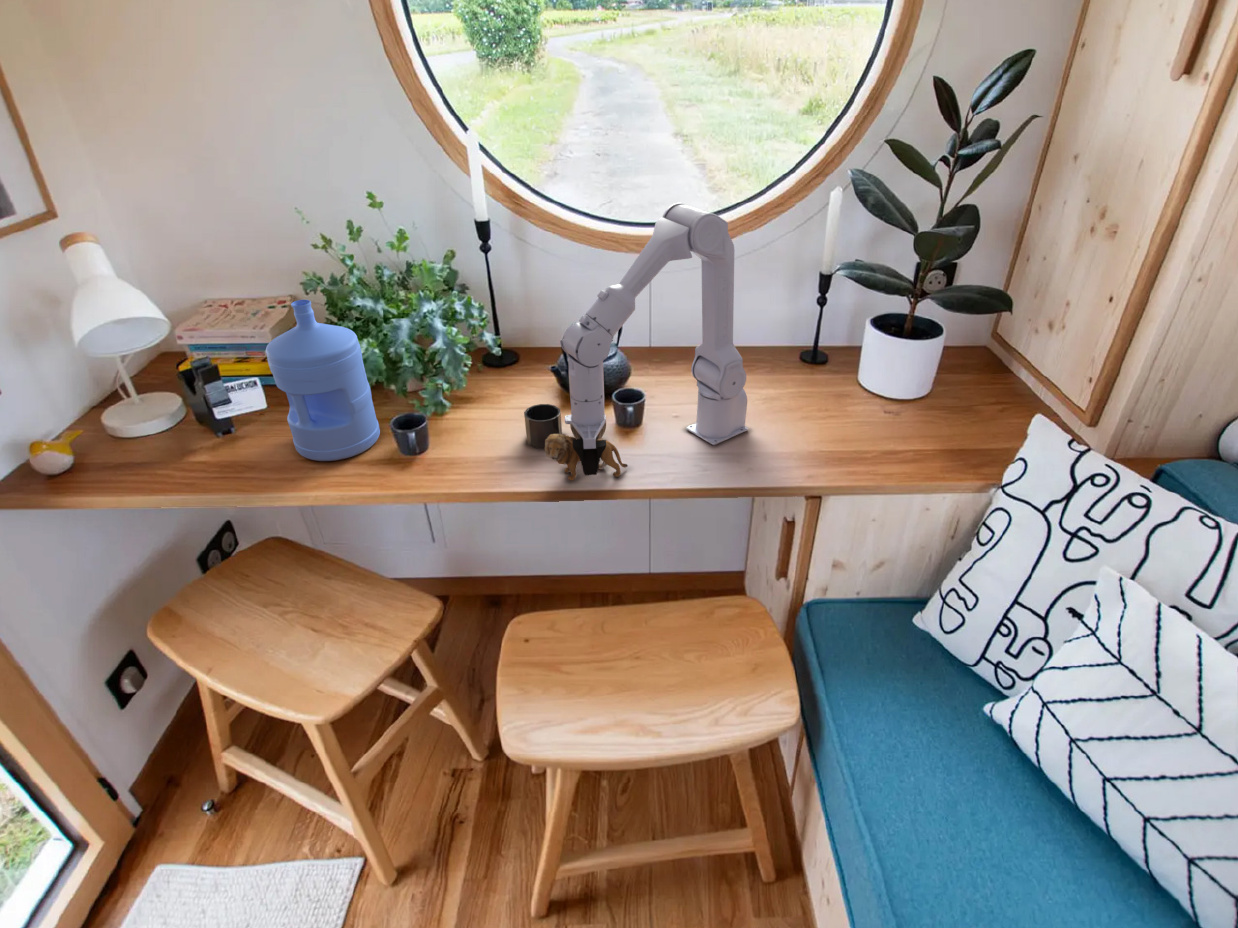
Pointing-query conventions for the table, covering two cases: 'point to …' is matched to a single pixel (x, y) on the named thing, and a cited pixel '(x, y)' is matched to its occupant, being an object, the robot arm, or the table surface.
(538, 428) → the tea cup
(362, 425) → the water jug
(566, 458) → the lion figurine
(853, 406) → the table surface
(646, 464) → the table surface
